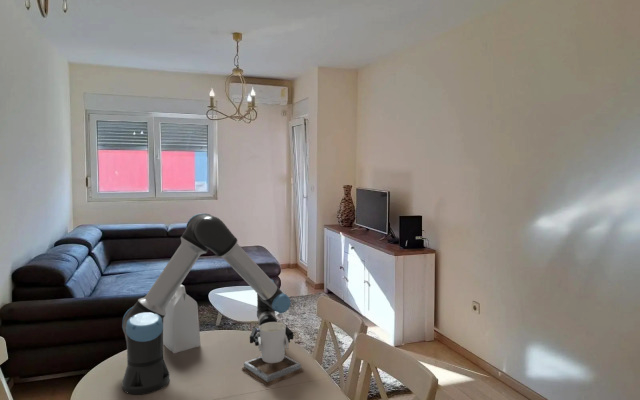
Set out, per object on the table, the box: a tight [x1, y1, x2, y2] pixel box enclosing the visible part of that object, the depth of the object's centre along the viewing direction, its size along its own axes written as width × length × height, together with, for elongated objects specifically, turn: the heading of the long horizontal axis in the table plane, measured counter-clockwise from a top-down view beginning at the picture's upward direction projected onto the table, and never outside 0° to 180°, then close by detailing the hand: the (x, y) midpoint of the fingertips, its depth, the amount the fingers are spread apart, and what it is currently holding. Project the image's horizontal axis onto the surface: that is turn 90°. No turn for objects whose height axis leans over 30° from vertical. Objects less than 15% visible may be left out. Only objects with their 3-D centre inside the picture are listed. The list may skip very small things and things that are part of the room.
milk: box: [162, 284, 201, 354], centre depth 179 cm, size 12×12×26 cm
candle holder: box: [258, 321, 287, 363], centre depth 156 cm, size 10×10×12 cm
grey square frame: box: [243, 354, 302, 383], centre depth 156 cm, size 15×15×2 cm
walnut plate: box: [241, 361, 304, 387], centre depth 156 cm, size 16×16×1 cm
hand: (273, 346), depth 151 cm, fingers closed on candle holder, 9 cm apart
